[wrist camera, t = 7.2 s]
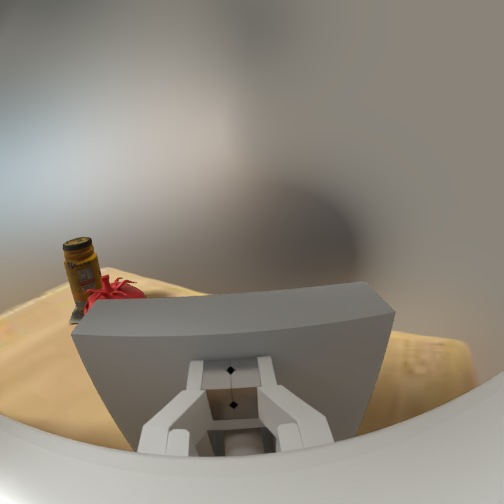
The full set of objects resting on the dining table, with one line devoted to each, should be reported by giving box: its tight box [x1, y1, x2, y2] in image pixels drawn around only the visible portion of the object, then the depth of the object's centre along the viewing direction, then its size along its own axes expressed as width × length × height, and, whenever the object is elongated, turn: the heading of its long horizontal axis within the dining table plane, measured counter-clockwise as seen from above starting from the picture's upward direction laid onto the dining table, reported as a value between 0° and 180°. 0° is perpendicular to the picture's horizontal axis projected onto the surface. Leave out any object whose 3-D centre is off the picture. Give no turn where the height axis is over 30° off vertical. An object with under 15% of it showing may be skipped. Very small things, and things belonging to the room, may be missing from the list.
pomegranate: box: [84, 275, 147, 315], centre depth 33 cm, size 10×10×9 cm
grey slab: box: [71, 281, 395, 457], centre depth 13 cm, size 3×13×14 cm, turn 95°
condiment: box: [63, 237, 103, 323], centre depth 39 cm, size 7×8×12 cm
